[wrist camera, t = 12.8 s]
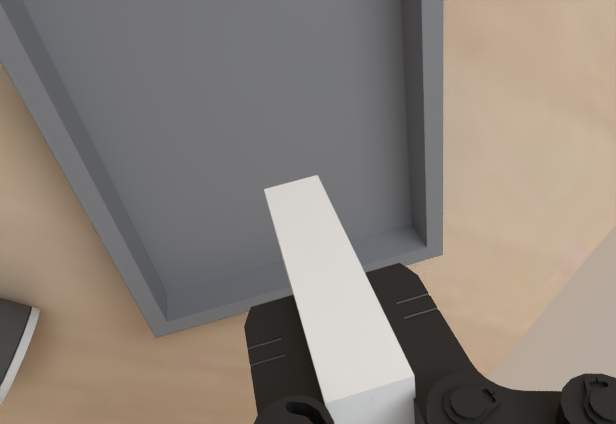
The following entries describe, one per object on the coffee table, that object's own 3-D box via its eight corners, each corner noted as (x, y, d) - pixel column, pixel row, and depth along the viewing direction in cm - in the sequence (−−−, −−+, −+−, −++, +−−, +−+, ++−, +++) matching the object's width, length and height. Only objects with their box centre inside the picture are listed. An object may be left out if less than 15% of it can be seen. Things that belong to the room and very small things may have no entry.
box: (-132, -254, 15) (-191, -280, 13) (405, -350, 17) (444, -387, 14) (157, 301, 31) (155, 338, 28) (422, 226, 32) (442, 254, 30)
